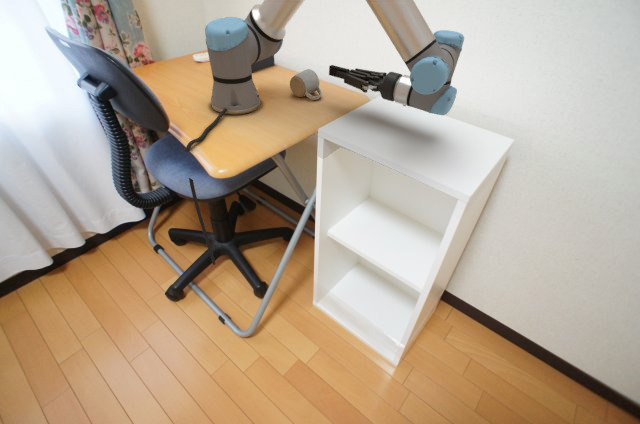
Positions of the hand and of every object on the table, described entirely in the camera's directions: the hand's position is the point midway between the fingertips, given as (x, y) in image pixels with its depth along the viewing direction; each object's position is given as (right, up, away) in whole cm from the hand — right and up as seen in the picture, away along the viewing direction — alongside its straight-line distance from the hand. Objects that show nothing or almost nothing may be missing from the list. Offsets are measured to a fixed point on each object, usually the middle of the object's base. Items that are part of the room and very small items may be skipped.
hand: (330, 69), depth 97 cm
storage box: (-32, +17, +32) cm, 48 cm away
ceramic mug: (-8, -4, +11) cm, 14 cm away
